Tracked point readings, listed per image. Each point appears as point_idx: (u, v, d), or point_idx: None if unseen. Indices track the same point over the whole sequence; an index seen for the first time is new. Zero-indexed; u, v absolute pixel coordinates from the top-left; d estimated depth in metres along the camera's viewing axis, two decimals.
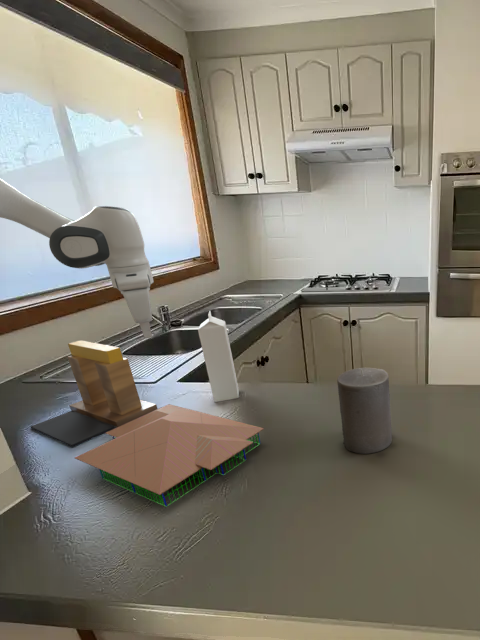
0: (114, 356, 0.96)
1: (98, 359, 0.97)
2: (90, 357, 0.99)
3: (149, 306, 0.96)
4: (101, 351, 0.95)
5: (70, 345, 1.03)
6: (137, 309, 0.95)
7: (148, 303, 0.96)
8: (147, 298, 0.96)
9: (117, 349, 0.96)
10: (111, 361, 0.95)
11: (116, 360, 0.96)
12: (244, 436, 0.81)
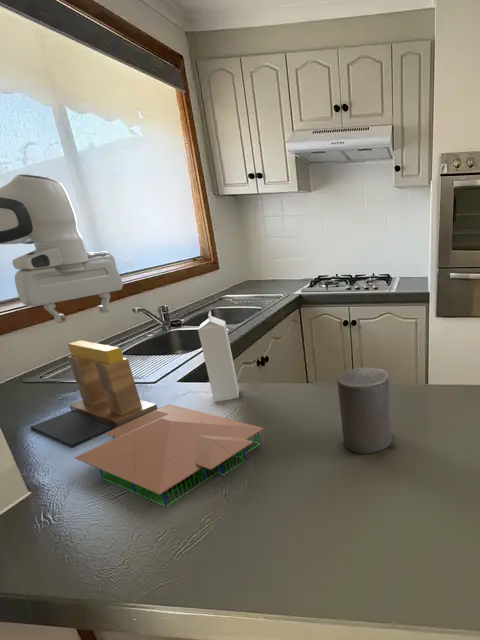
0: (114, 356, 0.96)
1: (98, 359, 0.97)
2: (90, 357, 0.99)
3: (25, 291, 0.86)
4: (101, 351, 0.95)
5: (70, 345, 1.03)
6: (19, 291, 0.87)
7: (23, 287, 0.86)
8: (23, 282, 0.85)
9: (117, 349, 0.96)
10: (111, 361, 0.95)
11: (116, 360, 0.96)
12: (244, 436, 0.81)
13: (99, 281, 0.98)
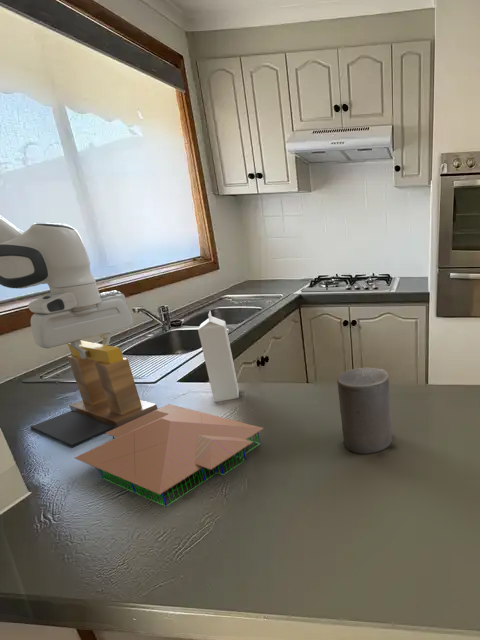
0: (114, 356, 0.96)
1: (98, 359, 0.97)
2: (90, 357, 0.99)
3: (41, 334, 0.89)
4: (101, 351, 0.95)
5: (70, 345, 1.03)
6: (35, 334, 0.90)
7: (39, 331, 0.89)
8: (39, 325, 0.89)
9: (117, 349, 0.96)
10: (111, 361, 0.95)
11: (116, 360, 0.96)
12: (244, 436, 0.81)
13: (111, 320, 1.01)
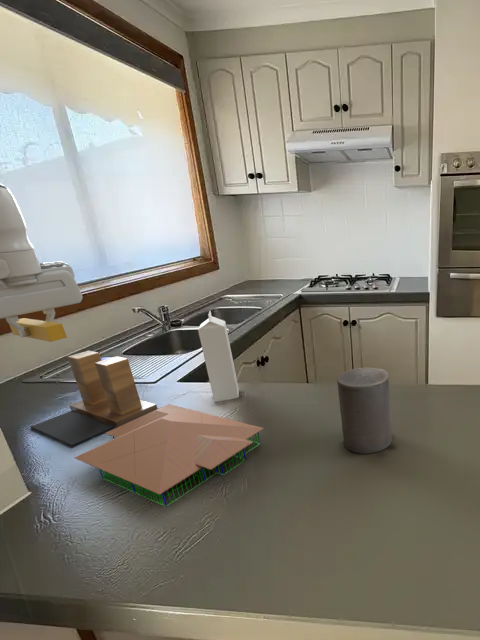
0: (55, 333, 0.84)
1: (38, 337, 0.86)
2: None
3: None
4: (40, 327, 0.84)
5: None
6: None
7: None
8: None
9: (59, 325, 0.85)
10: (51, 339, 0.84)
11: (58, 338, 0.85)
12: (244, 436, 0.81)
13: (55, 294, 0.90)
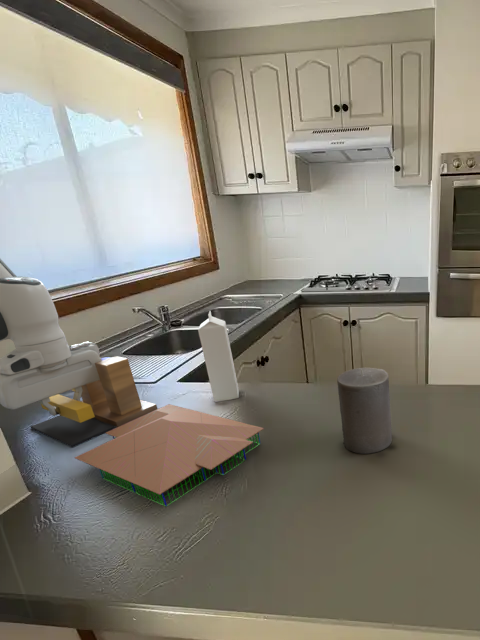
0: (84, 414, 0.91)
1: (68, 416, 0.93)
2: (60, 413, 0.95)
3: (4, 396, 0.85)
4: (71, 409, 0.91)
5: None
6: None
7: (3, 392, 0.84)
8: (2, 387, 0.84)
9: (88, 407, 0.91)
10: (81, 420, 0.91)
11: (87, 418, 0.92)
12: (244, 436, 0.81)
13: (82, 373, 0.96)
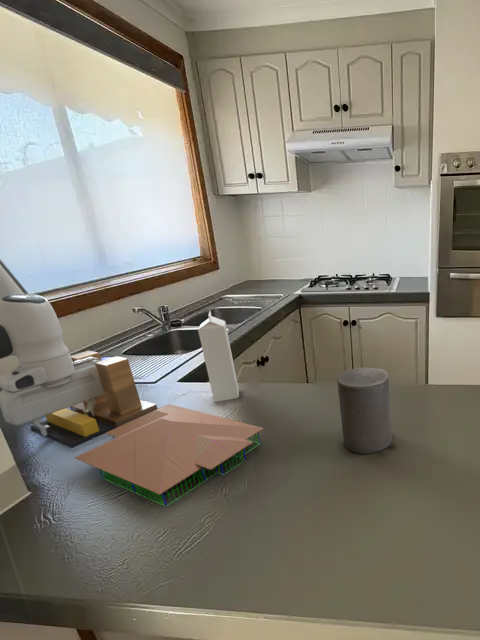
0: (89, 428, 0.92)
1: (73, 430, 0.94)
2: (65, 427, 0.96)
3: (9, 412, 0.86)
4: (76, 423, 0.92)
5: None
6: (3, 411, 0.87)
7: (7, 409, 0.85)
8: (6, 404, 0.85)
9: (92, 421, 0.93)
10: (86, 434, 0.92)
11: (91, 432, 0.93)
12: (244, 436, 0.81)
13: (86, 388, 0.97)
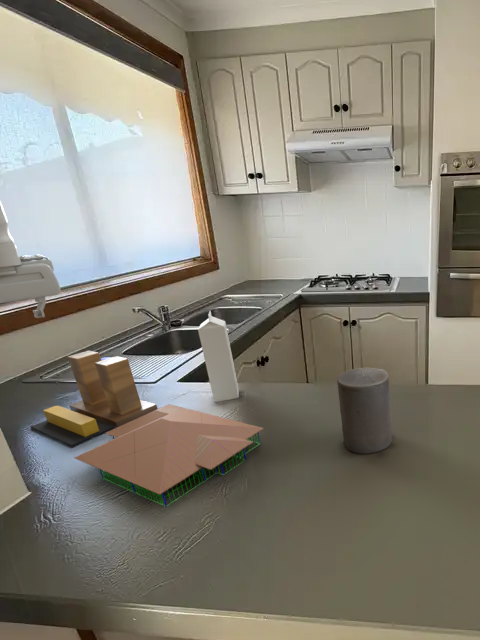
0: (89, 428, 0.92)
1: (73, 430, 0.94)
2: (65, 427, 0.96)
3: None
4: (76, 423, 0.92)
5: (45, 412, 0.99)
6: None
7: None
8: None
9: (92, 421, 0.93)
10: (86, 434, 0.92)
11: (91, 432, 0.93)
12: (244, 436, 0.81)
13: (33, 285, 0.95)
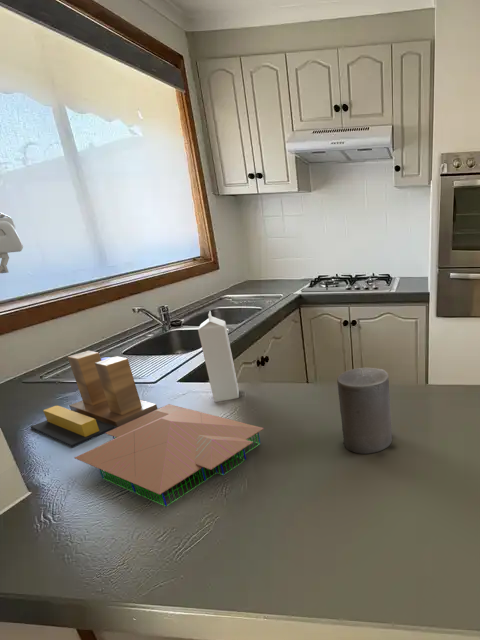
0: (89, 428, 0.92)
1: (73, 430, 0.94)
2: (65, 427, 0.96)
3: None
4: (76, 423, 0.92)
5: (45, 412, 0.99)
6: None
7: None
8: None
9: (92, 421, 0.93)
10: (86, 434, 0.92)
11: (91, 432, 0.93)
12: (244, 436, 0.81)
13: None
